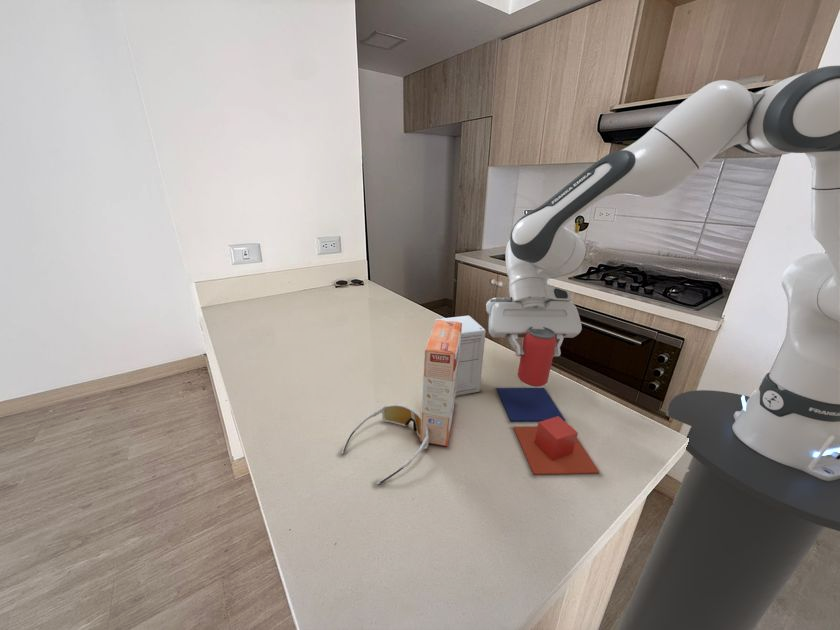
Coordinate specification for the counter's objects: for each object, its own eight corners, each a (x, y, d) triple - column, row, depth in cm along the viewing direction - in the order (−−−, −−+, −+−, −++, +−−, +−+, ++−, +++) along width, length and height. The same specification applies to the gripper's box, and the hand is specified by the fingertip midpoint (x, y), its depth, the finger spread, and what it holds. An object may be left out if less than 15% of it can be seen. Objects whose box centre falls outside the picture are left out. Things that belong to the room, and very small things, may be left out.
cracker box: (449, 448, 66) (457, 353, 58) (419, 443, 67) (422, 348, 59) (456, 403, 79) (463, 320, 71) (430, 400, 80) (434, 318, 72)
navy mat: (543, 389, 85) (544, 387, 85) (564, 421, 74) (565, 419, 74) (496, 389, 84) (496, 387, 84) (510, 421, 73) (510, 420, 73)
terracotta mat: (568, 427, 72) (569, 426, 72) (599, 473, 61) (599, 472, 61) (513, 428, 72) (513, 426, 71) (533, 474, 60) (533, 473, 60)
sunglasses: (442, 443, 67) (441, 424, 64) (386, 500, 57) (383, 481, 55) (392, 410, 75) (389, 393, 73) (336, 455, 66) (331, 437, 64)
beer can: (517, 369, 80) (525, 323, 76) (547, 374, 79) (557, 327, 74) (516, 384, 75) (525, 335, 70) (547, 390, 73) (559, 340, 68)
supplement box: (464, 372, 91) (470, 314, 85) (480, 392, 83) (487, 329, 77) (431, 377, 88) (433, 318, 82) (444, 398, 80) (448, 334, 74)
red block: (553, 435, 69) (558, 415, 67) (572, 453, 65) (578, 432, 63) (534, 442, 67) (538, 421, 65) (552, 460, 63) (557, 439, 61)
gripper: (488, 291, 75) (494, 351, 70) (578, 292, 76) (591, 351, 71) (482, 303, 81) (487, 359, 76) (565, 303, 82) (576, 359, 77)
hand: (538, 355), depth 74 cm, fingers closed on beer can, 6 cm apart
